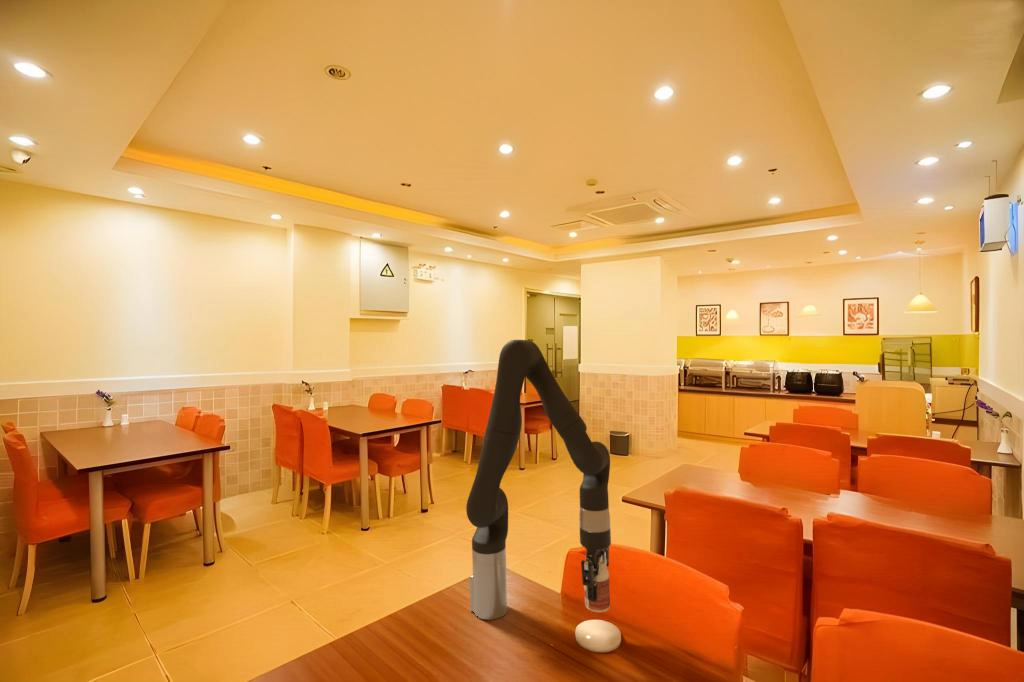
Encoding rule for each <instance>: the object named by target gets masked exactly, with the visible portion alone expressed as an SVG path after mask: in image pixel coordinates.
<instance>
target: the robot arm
mask: <svg viewBox="0 0 1024 682" xmlns="http://www.w3.org/2000/svg"><path fill="white" fill-rule="evenodd" d="M525 378H526V379H527V380H528V381H529V382H530V383H531V385H532V386H533V388H534V389H535V390H536V393H537V394H538V396H539V400H540V401H541V404H542V406H543V410H544V412H545V415H546V416H547V418H548V420H549V421H550V423H551V425H552V426H553V428H554V429H555V430H556V432H557V434H558V435H559V437H561V439H562V440H563V443H564V446H565V448H566V450H567V452H568V454H569V457H570V458H571V461H572V462H573V464H574V466H575V467H576V469H578V470H579V471H580V472H581V473H582V474H583V476H582V477H583V478H582V482H581V484H580V486H579V514H578V516H579V517H578V521H579V543H580V545H581V546H582V547H583V548H585V549H586V553H585V555H584V556H585V557H584V559H585V560H581V562H580V566H581V568H580V569H581V577H582V579H581V580H582V585H583V586H584V585H586V586H587V598H588V600H590V601H594V602H595V601H596V600H597V577H598V576H599V575H600V567H601V563H602V560H605V561H606V568H605V569H606V570H607V571H608V568H607V567H610V566H609V565H610V546H611V543H612V537H611V536H612V535H611V534H612V533H611V515H610V509H609V507H610V506H609V489H608V487H609V479H610V471H611V456H610V452H609V450H608V447H607V446H606V445H605V444H603V443H602V442H600V441H592V440H591V438H590V437H589V434H588V433H587V428H588V427H587V424H586V422H585V421H584V419H583V418H582V417H581V415H580V414H579V413H578V411H577V410H576V408H575V406H573V404H572V403H571V401H570V400H569V398H568V397H567V396H566V394H565V393H564V391H563V390H562V388H561V387H560V385H559V383H558V382H557V380H556V378H555V376H554V375H553V372H552V371H551V369H550V367H549V366H548V364H547V360H546V359H545V357H544V354H543V353H542V351H541V349H540V348H539V346H538V345H537V344H536V343H535V342H534V341H531V340H528V339H511V340H509V341H508V342H506V343H505V344H504V345H503V346H502V348H501V350H500V353H499V356H498V365H497V373H496V383H495V389H494V392H493V398H492V400H491V401H492V402H491V407H490V410H489V416H488V419H487V422H486V427H485V433H484V437H483V442H482V447H481V451H480V455H479V460H478V466H477V470H476V473H475V477H474V480H473V483H472V486H471V490H470V492H469V495H468V496H467V497H468V498H467V501H466V507H465V508H466V509H465V511H466V517H467V519H468V521H469V522H470V523H471V525H473V526H474V527H475V528H476V530H475V532H474V533H473V536H472V538H471V550H472V551H471V553H472V554H471V555H472V559H471V560H472V574H470V576H469V602H470V607H469V608H470V610H471V611H473V612H474V613H475V614H474V613H473V612H472V613H473V614H474V616H476V617H477V616H478V617H477V618H478V619H481V620H486V621H487V620H490V621H491V620H497V619H500V618H501V617H504V616H505V614H506V613H507V611H508V589H507V586H508V585H507V550H506V549H507V548H506V546H507V545H506V543H507V542H506V541H507V537H508V532H509V502H508V498H507V495H506V493H505V491H504V490H503V489H502V488H501V487H500V486H501V483H502V480H503V478H504V475H505V474H506V471H507V469H508V467H509V465H510V463H511V462H512V461H513V457H514V456H515V452H516V450H517V448H518V444H519V439H520V437H521V431H522V423H523V417H522V409H521V395H522V391H523V385H524V382H525ZM593 568H594V569H597V570H596V571H593ZM589 578H590V579H589ZM471 611H470V612H471Z"/></svg>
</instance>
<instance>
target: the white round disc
mask: <svg viewBox="0 0 1024 682" xmlns="http://www.w3.org/2000/svg"><path fill="white" fill-rule="evenodd" d="M574 635H575V640H576V642H577V644H579V646H581V647H582V649H585V650H587V651H590V652H594V653H608V652H612V651H614V650H617V649H618V648H619V647H620V645H621V644H622V643H621V642H622V633H621V631H620V629H619V627H617V626H616V625H614V624H613V623H611V622H608V621H606V620H603V619H602V620H601V619H588V620H585V621H582V622H580V623H579V624H578V625H577V626H576V628H575V634H574Z"/></svg>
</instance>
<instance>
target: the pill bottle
mask: <svg viewBox="0 0 1024 682" xmlns="http://www.w3.org/2000/svg"><path fill="white" fill-rule="evenodd" d="M606 567H607V566H606V561H605V560H602V563H601V567H600V575H599V576H598V577H597V600H596V601H595V602H594V601H590V600H588V598H587V586H586V585H583V589H584V591H583V592H584V605H585V607H586V608H587V609H588V610H589V611H591V612H594V613H604V612H607V611H609V610H610V608H611V591H610V589H611V588H610V573H609V571H608V569H607V570H606V569H605V568H606ZM596 570H597V569H594V568H593V571H596ZM589 579H590V578H589Z"/></svg>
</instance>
